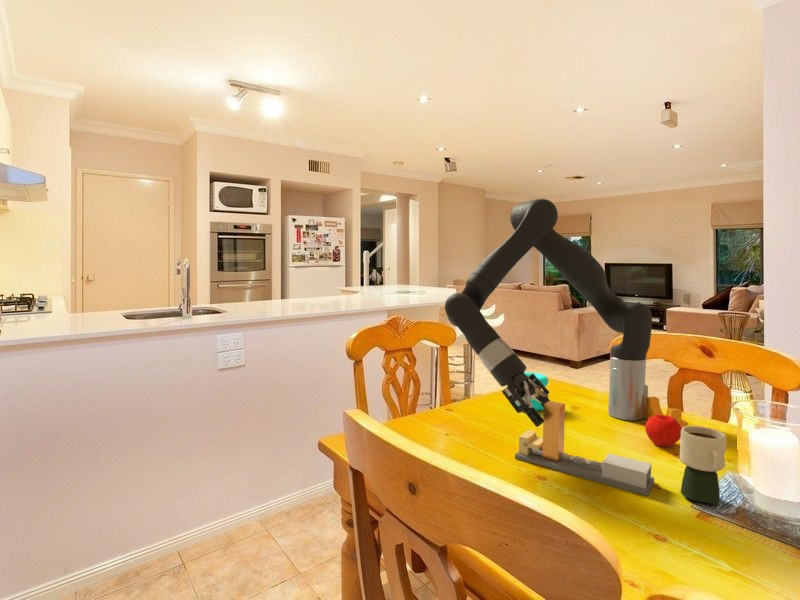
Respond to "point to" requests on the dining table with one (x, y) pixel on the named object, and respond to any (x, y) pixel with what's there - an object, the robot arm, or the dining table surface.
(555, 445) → the orange-brown upright block
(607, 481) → the board
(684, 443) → the mug on green stand
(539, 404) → the donuts
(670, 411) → the pipe clamp
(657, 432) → the apple
